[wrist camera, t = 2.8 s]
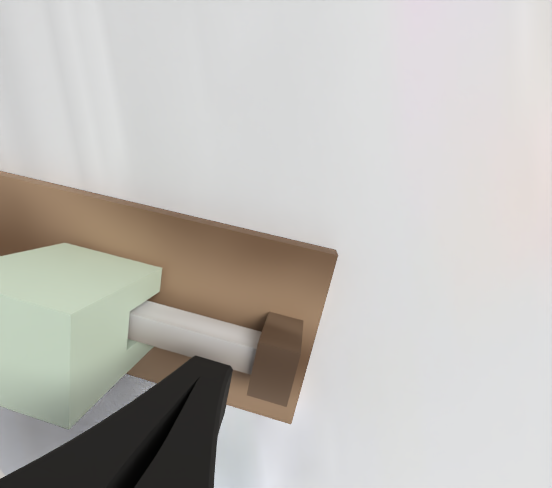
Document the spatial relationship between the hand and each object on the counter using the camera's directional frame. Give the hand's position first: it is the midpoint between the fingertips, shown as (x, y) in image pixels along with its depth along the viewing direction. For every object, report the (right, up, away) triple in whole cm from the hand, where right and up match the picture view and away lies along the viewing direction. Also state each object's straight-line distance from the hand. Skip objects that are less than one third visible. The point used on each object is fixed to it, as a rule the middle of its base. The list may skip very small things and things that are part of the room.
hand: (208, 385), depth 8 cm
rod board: (-10, +3, +6) cm, 12 cm away
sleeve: (-6, +2, +4) cm, 7 cm away
